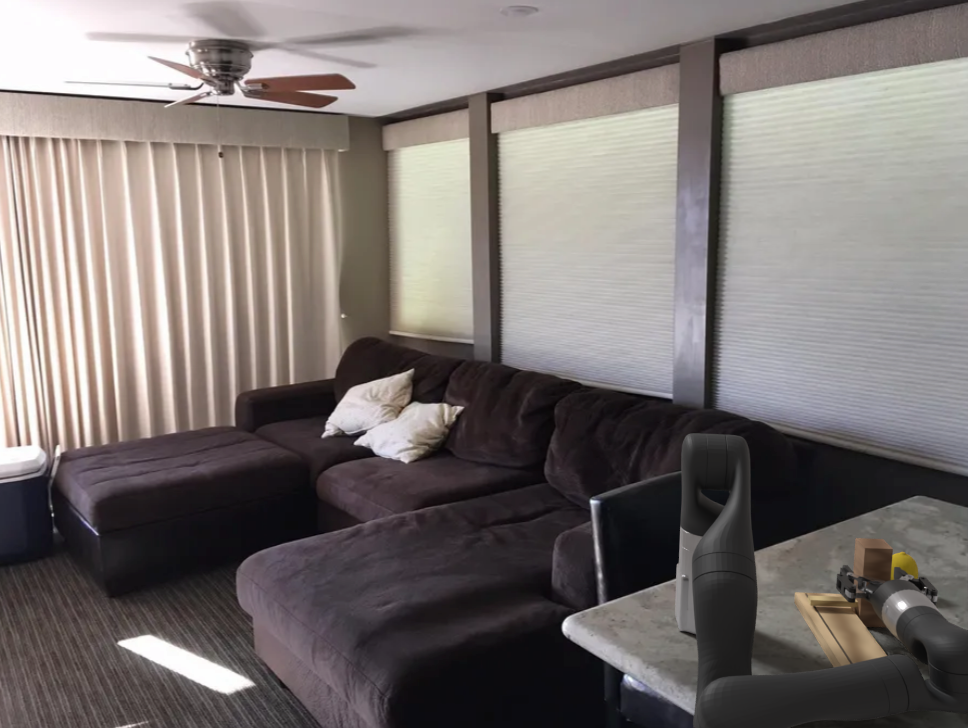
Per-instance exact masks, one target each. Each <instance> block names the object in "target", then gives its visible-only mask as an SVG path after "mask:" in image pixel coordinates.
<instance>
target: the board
mask: <svg viewBox="0 0 968 728" xmlns="http://www.w3.org/2000/svg"><path fill="white" fill-rule="evenodd" d="M808 596H835V597H843V596H842V594H841V593H828V592H827V593H826V592H825V593H821V592H798V591H797V592H794V604H795V606H796V608H797V610H798V611H799V612H800V615H801V616H802V618H803V619H804V621H805V623H806V624H807V626H808V627H809V629H810V631H811V632H812V634H813V636H814V637H815V639H816V641H817V642H818V644H819V646H820V647H821V649H822V651H823V652H824V654H825V657H827V659H828V661H829V662H830V664H831V665H832V668H834V667H839V666H843V665H848V664H853V663H857V662H861V661H866V660H870V659H875V658H879V657H884V656H888V655H887V654H886V652H885V651H884V649H883V648H882V646H881V645H880V644H879V643H878V642H877V640H876V638H875V637H874V636H873V635H872V633H871V632H870V631H869V630H868V627H865V625H864V624H863V623H862V621H861V620H860V619H859V617H858V616H857V615H856V613H855V612H854V611H853V609H852V608H851V607H835V606H811V605H810V604H809V602H808Z"/></svg>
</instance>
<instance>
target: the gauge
mask: <svg viewBox="0 0 968 728" xmlns="http://www.w3.org/2000/svg"><path fill="white" fill-rule="evenodd" d="M854 541H855V542H854V543H855V544H854V556H853V557H854V559H853V568H852V569H853V570H852V571H853V572H854V574H856V575H859V576H862V575H867V576H869V577H872V578H875V579H877V580H879V579H881V580H884V581H890V580H891V568H892V555H893V552H894V548H893V547H892V546H891V545H889V543H887V542H886V540H885V539H884V538H866V537H865V538H863V537H861V538H859V537H856V538H855V540H854ZM854 584H856V585H857V586H858V581H857V580H854ZM868 584H870V583H869V582H866V586H867V585H868ZM808 602H809V604H810V605H811V606H835V607H851V608H852V609H853V611H854V612H855V613H856V615H857V616H858V617H859V619H860V620H861V621H862V623H863V624H864V625H865V627H866V628H885V629H886V628H887V627H886V625H885V624H884V623H883V622H882V620H881V619H880V618H879V617H878V615H877V614H876V612H875V611H874V608H873V606H872V604H871V603H870V602H868V601H866V600H865V599H864V598H856V600H855V603H850V602H848V601H847V600H846V599H845V598H844V597H835V596H808ZM887 629H888V628H887Z"/></svg>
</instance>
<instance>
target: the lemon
mask: <svg viewBox="0 0 968 728" xmlns="http://www.w3.org/2000/svg"><path fill="white" fill-rule="evenodd" d="M894 567H900V568H901V569H902V570H904V571H906V573H907V574H909V575H912V576H914V578H915V579H919V568H918V564H917V561H916V560H915V559H914V558H913V556H911V555H909V554H908V553H906V552H905V551H901V552H896V553H894V554H893V555H892V568H891V580H894Z"/></svg>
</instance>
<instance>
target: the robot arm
mask: <svg viewBox="0 0 968 728" xmlns="http://www.w3.org/2000/svg"><path fill="white" fill-rule="evenodd" d="M747 442H748V441H747V440H746V439H745V438H744V437H742V436H740V435H734V434H722V433H721V434H720V433H719V434H717V433H699V432H698V433H688V434H687V435H685V437H684V439H683V441H682V445H681V453H680V456H681V457H680V459H681V460H680V461H681V465H680V467H681V469H680V470H681V472H680V473H681V506H680V507H681V510H680V522H679V523H680V527H679V528H680V529H679V530H680V531H679V552H678V557H679V558H678V563H677V564H676V571H675V572H676V573H675V575H676V577H675V600H674V603H675V604H674V617H675V619H676V620H675V621H676V624H677V627H678V630H679V631H680V632H687V633H690V634H694V635H695V637H696V638H695V639H696V646H697V681H696V683H697V684H696V695H695V696H696V697H695V705H694V712H693V721H692V725H693V727H692V728H792V727H796V726H798V725H803V724H807V723H813V722H818V721H849V722H850V721H855V722H856V721H867V720H875V719H880V718H885V717H889V716H894V715H897V714H903V713H906V712H910V711H911V712H912V711H920V712H921V711H922V712H923V711H924V712H942V713H943V712H945V713H953V714H954V713H955V714H968V629H966V628H963V627H961V626H958V625H956V624H954V623H953V622H950V621H948V619H947V618H946V617H944V615H942V614H941V612H940V610H939V609H938V608H937V605H938V604H937V603H938V595H939V593H938V592H939V591H938V590H937V588H936V587H935V586H934V585H933V584H932V582H931V581H930V580H929V579H928V578H927V577H926V576H918V579H915V578H914V576H912V575H909V574H907V573H906V571H904V570H902V569H901V568H900V567H894V580H890V581H884V580H881V579H879V580H877V579H875V578H872V577H869V576H867V575H862V576H859V575H856V574H854V572H853V570H852V569H851V567H850V566H849V565H848V564H843V565H842V567H840V568H839V569H840V571H839V573H837V574H836V584H835V589H836V590H837V591H838V593H839V594H841V595H842V596H843V597H844V598H845V599H846V600H847V601H848V602H850V603H855V600H856V598H864V599H865V600H866V601H868V602H870V603H871V604H872V606H873V608H874V611H875V612H876V614H877V615H878V617H879V618H880V619H881V620H882V622H883V623H884V624H885V625H886V627H887V629H888V630H889V632H890V633H891V634H892V635H893V636H894V637H895V638H896V639H897V640H898V641H900V642H901V643H902V645H903V646H904V648H906V650H907V651H908V652H909V654H910V655H911V656H913V657H914V658H915V659H916V660H917V661H918V662H920V663H922V664H924V665H926V666H928V676H929V678H927V679H924V676H923V674H922V672H921V670H920V668H919V666H918V665H917V664H916V662H915V661H914V660H913V659H911V657H909V656H907V655H904V654H899V653H897V654H889V655H887V656H884V657H879V658H875V659H870V660H866V661H861V662H857V663H853V664H848V665H843V666H839V667H830V668H824V669H823V668H822V669H817V670H808V671H797V672H788V673H779V674H778V673H777V674H776V673H775V674H753V672H752V670H753V669H752V659H753V657H752V656H753V648H754V642H755V633H756V625H757V616H758V615H757V613H758V596H759V595H758V591H759V590H758V579H757V578H758V577H757V567H756V566H757V565H756V557H755V556H756V555H755V548H754V538H753V537H754V536H753V530H752V528H753V527H752V514H751V513H752V512H751V510H752V507H751V502H752V501H751V492H752V491H751V455H750V448H749V446H748V443H747ZM702 490H704V491H705V490H706V491H721V492H723V491H724V492H728V493H729V495H728V498H727V500H726V502H725V505H723V504H720V503H718V502H715V501H714V500H712V499H710V498H709V497H707V496H706V495H705V494H703V493H702ZM854 580H857V581H858V586H857V585H856V584H854ZM866 582H869V583H870V584H868V585H867V586H866Z"/></svg>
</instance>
